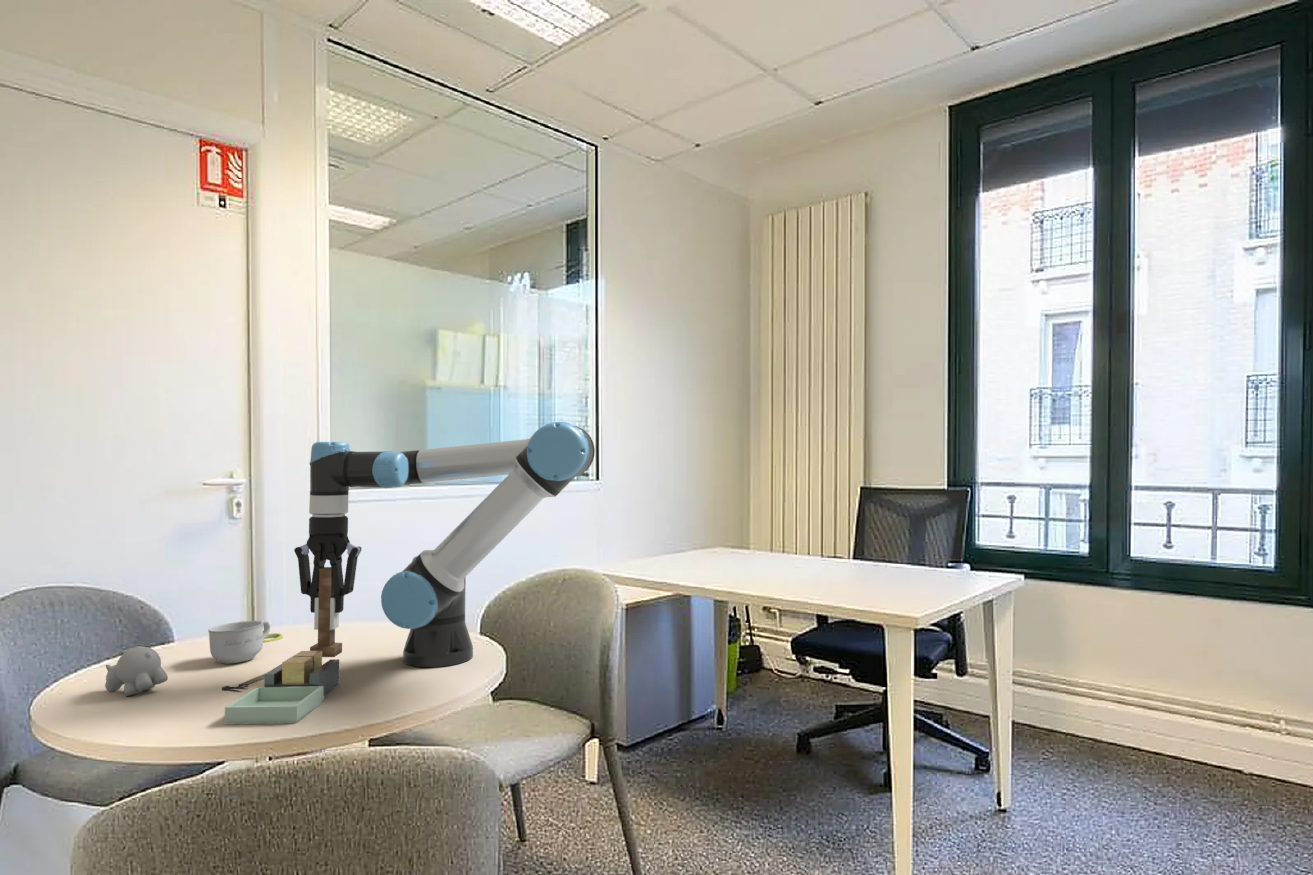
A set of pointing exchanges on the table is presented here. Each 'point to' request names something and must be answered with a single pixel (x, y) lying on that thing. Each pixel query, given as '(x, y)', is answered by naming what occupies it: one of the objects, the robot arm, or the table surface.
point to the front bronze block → (297, 670)
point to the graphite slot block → (319, 677)
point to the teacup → (237, 640)
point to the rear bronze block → (316, 657)
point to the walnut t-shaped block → (326, 617)
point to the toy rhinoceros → (136, 671)
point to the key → (273, 635)
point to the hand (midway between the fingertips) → (326, 627)
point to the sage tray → (274, 705)
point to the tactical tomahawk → (243, 684)
